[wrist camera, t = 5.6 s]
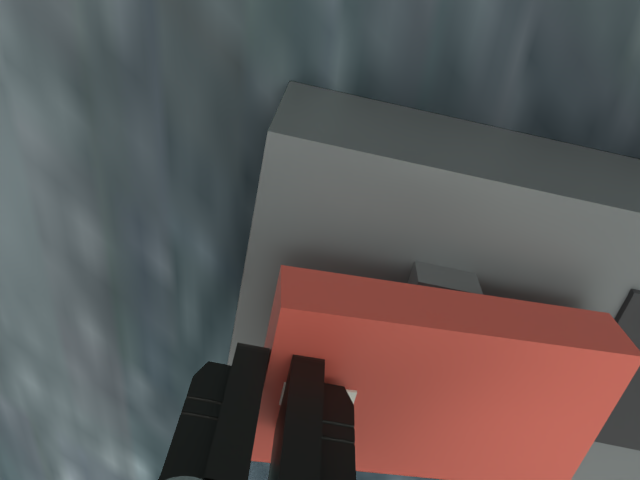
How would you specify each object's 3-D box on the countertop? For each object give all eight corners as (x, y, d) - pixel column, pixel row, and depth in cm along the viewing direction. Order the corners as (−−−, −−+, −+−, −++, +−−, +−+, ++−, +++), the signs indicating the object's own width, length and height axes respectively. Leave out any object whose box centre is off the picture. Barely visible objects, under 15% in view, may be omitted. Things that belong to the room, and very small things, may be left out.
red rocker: (608, 313, 14) (646, 359, 13) (540, 441, 16) (565, 493, 15) (280, 264, 13) (280, 309, 12) (251, 409, 15) (247, 462, 14)
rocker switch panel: (988, 237, 19) (1231, 357, 14) (820, 434, 23) (956, 583, 18) (289, 81, 18) (261, 145, 13) (246, 317, 22) (211, 439, 17)
